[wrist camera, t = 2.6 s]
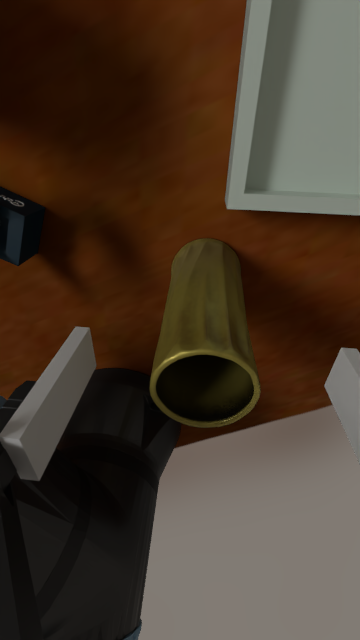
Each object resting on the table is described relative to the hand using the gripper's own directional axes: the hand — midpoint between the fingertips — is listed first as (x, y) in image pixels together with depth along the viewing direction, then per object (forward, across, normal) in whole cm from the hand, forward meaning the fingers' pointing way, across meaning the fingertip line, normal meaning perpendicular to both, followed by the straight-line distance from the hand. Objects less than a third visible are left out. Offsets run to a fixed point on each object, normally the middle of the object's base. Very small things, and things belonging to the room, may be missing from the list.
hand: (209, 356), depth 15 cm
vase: (+12, 0, 0) cm, 12 cm away
